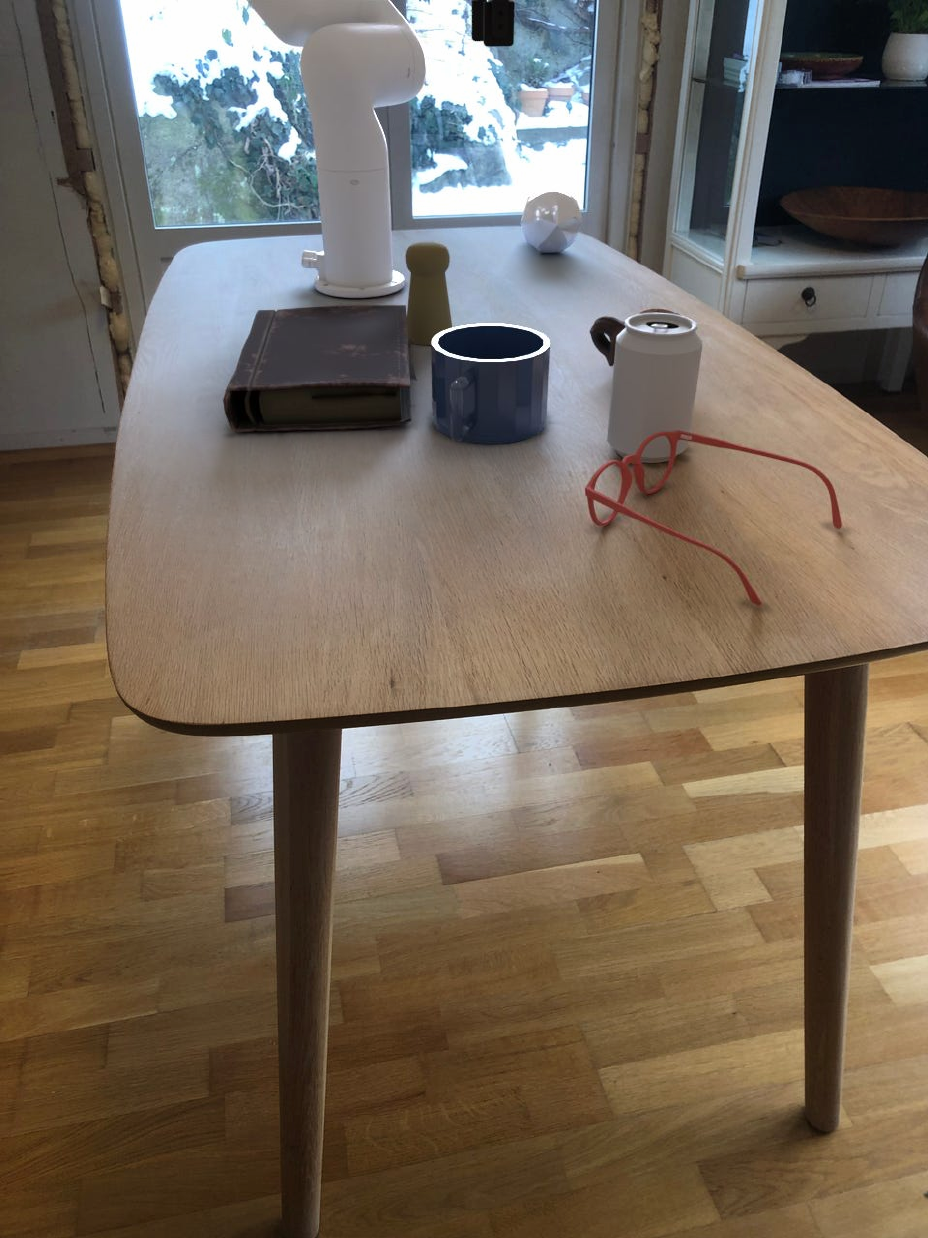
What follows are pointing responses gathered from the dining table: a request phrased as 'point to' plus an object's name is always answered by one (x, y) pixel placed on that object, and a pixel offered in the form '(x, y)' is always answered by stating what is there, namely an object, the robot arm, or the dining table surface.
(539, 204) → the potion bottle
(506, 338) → the blue coffee cup
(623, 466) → the red eyeglasses
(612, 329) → the pottery mug
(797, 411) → the dining table surface
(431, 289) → the cork
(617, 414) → the can
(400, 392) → the diary
